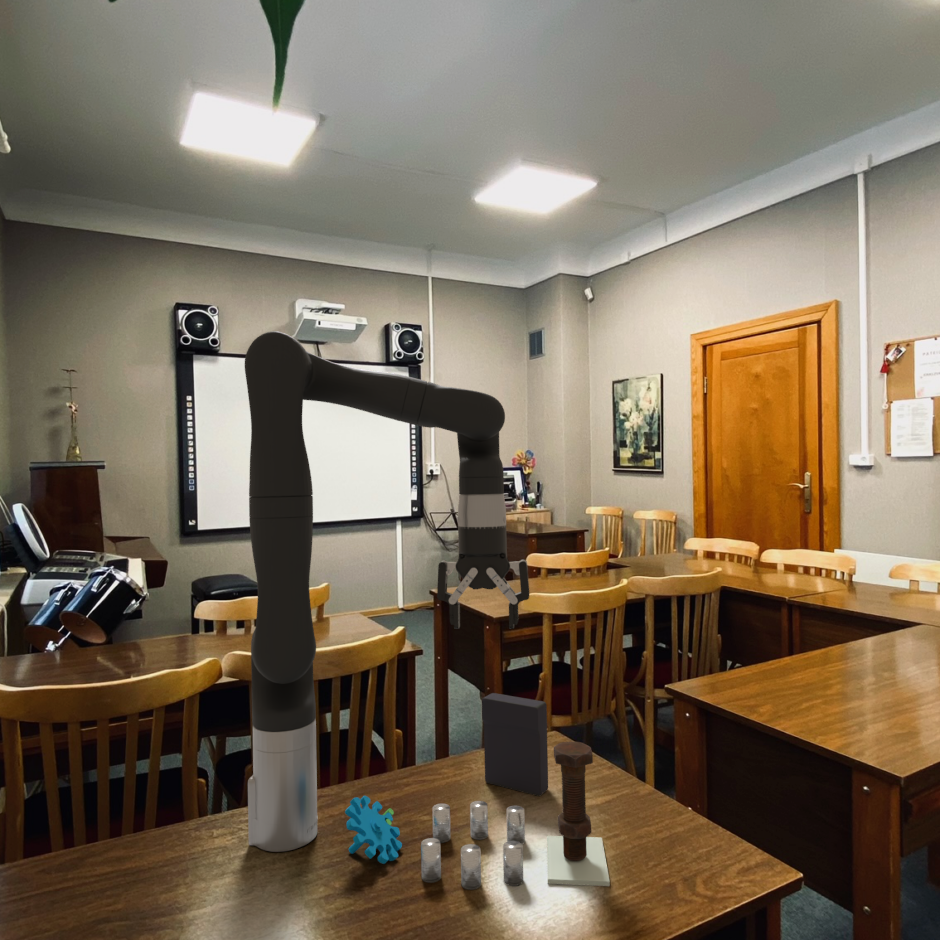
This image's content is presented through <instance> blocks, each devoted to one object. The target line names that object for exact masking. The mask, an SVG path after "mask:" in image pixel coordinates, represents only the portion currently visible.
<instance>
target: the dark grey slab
mask: <svg viewBox="0 0 940 940" xmlns="http://www.w3.org/2000/svg"><path fill="white" fill-rule="evenodd" d="M547 706H548V705H547V703H546V702H545V701H542V700H536V699H532V698H525V697H519V696H515V695H514V696H512V695H509V694H503V693H502V694H501V693H496V692H492V693H490V694H488V695H486V696H484V697H483V698H481V720H482V722H483V733H484V735H483V737H484V738H483V740H484V743H483V744H484V745H483V747H484V748H483V749H484V781H485V783H487V784H491V785H494V786H497V787H502V788H505V789H510V790H514V791H518V792H522V793H525V794H530V795H533V794H534V796H537V795H538V796H537V797H541V796H542V795H543V794H544V793H545V792H546V791H548V789H549V763H548V762H549V761H548V759H549V758H548V757H549V756H548V755H549V753H548V751H549V750H548V715H547V714H548V713H547V712H548V710H547V709H548V708H547Z"/></svg>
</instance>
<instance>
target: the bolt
mask: <svg viewBox="0 0 940 940" xmlns="http://www.w3.org/2000/svg"><path fill="white" fill-rule="evenodd" d="M593 756H594V755H593V751H592V747H591V746H589V745H587V744H585V743H584V742H580V741H562V742H559V743H558V744H555V746H553V758H554V761H555V764H557V765H560V771H561V789H562V791H561V792H562V793H561V794H562V795H561V796H562V797H561V800H562V802H561V803H562V811H561V813H560V814H558V815H557V829H558V832H559V834H560V836H563V848H564V849H563V853H564V857H565V858H566V859H568V860H569V861H580V860H583V859H584V858H585V857H586V856H587V851H586V850H587V849H586V837H589V835H591V834H592V822H591V821H592V820H591V818H590V816H589V814H587V813H586V812H587V807H586V766H588V765H591V764H593V763H594V761H593V760H594V759H593Z"/></svg>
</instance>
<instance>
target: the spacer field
mask: <svg viewBox="0 0 940 940" xmlns="http://www.w3.org/2000/svg"><path fill="white" fill-rule="evenodd" d="M488 808H489V807H488V803H487V802H486V801H483V800H474V801H472V802H471V803H470V804H469V819H470V820H469V821H470V823H469V824H470V837H471V838H472V839H473V840H476V841H477V840H478V841H479V840H485V839H487V838H488V837H489V825H488V824H489V822H488V821H489V820H488V819H489V817H488V816H489V813H488V811H489V810H488ZM525 826H526V825H525V808H524V807H523V806H520V805H510V806H508V807H506V841H505V842H504V843H503V844H502V855H503V856H502V858H503V859H502V860H503V866H502V867H503V868H502V869H503V882H504V884H506V885H507V886H511V887H517V886H520V885H522V884H523V883H524V857H523V856H524V851H523V850H524V849H523V848H524V846H523V844H525V842H526V837H525V835H526V834H525V833H526V832H525V831H526V830H525ZM450 840H451V807H450V805H449V804H447V803H437V804H434V805H433V806H432V837H430V838H429V837H428V838H425V839H423V840H422V841H421V842H420V855H421V856H420V857H421V858H420V859H421V861H420V863H421V880H422V881H423V882H425V883H428V884H429V883H430V884H432V883H437V882H438V881H440V880H441V879H442V867H441V866H442V862H441V861H442V858H441V856H442V855H441V852H442V851H441V844H443V843H446V842H449V841H450ZM481 855H482V852H481V847H480V845H478V844H473V843H469V844H464V845H463V846H461V848H460V876H461V877H460V878H461V879H460V880H461V881H460V882H461V886H462V888H463V889H465V890H469V891H470V890H471V891H473V890H477V889H479V888H480V887H481V886H482V865H481V863H482V862H481V861H482V858H481Z"/></svg>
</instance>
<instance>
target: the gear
mask: <svg viewBox="0 0 940 940" xmlns="http://www.w3.org/2000/svg"><path fill="white" fill-rule="evenodd" d="M370 803H371V798H370V797H369V796H367V795H363V796H362V797H361V798H360V797H357V796H355V797H353V798H352V799H351V800H350V801H349V804H350V805H349V806H348V807H347V808H346V809H345V811H344V814H345V815H346V816H348V817H349V819H348V820H347V821H346V824H345V825H346V830H348V831H353V832H356V835H354V837H352V840H353V844H351V845H350V846H349V848H348V851H349V853H350V854H351V855H353V854H355V853H356V852H358V850H359V849H360V848H361V847H362V846H363V845H364V844H367V845H368V847H367V848H366V849H365V850H364V854H365V855H366V857H368V858H369V860H370V859H372V858H373V857H374V856H375V855H377V854H376V853H377V852H376V851H377V850H378V852H379V855H377V862H379V863H380V864H383V865H385V864H386V863H387V862H388V861H389V862H394V861H395V860H396V859H397V858H398V857H399V853H398V852H399V851H400V850H401V848H402V846H403V843H402V842H401V841H400V840H399V839H398V838H399V836H400V835H401V832H400V828H399V827H397V826H392V822H393V821H394V818H393V815H394V814H395V811H394V810H393V809H392V808H391V807H390V808H388V809H387V810H386V811H385V812H384V813H383V814H380V813H379V812H380V811H381V810H382V809H383V805H382V804H381V803H380V802H379V801H378V800H376V801H375V802H373V804H372V805H371V808H370V807H369V804H370Z"/></svg>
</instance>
